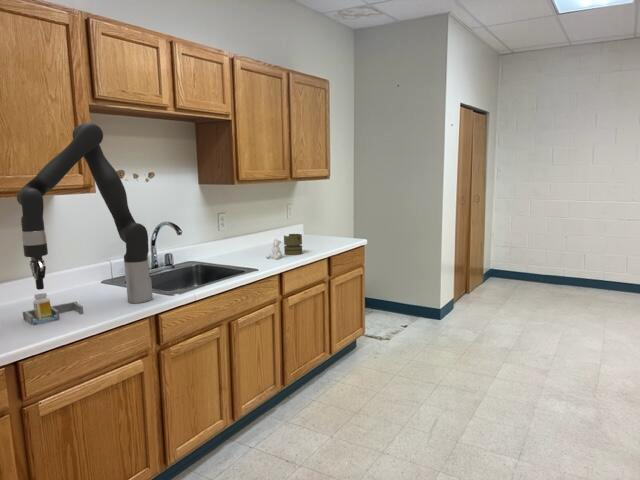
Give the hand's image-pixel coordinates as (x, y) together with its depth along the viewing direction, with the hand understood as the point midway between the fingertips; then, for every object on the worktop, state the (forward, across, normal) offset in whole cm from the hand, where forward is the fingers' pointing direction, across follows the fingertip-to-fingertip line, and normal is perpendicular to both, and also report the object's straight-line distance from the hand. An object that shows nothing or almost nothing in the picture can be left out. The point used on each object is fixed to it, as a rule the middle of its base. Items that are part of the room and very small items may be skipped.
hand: (40, 289), depth 178 cm
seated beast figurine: (+12, +30, -132) cm, 136 cm away
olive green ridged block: (+12, +33, -149) cm, 153 cm away
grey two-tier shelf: (+12, +3, -4) cm, 13 cm away
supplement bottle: (+12, 0, 0) cm, 12 cm away
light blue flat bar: (+12, -3, 0) cm, 12 cm away
